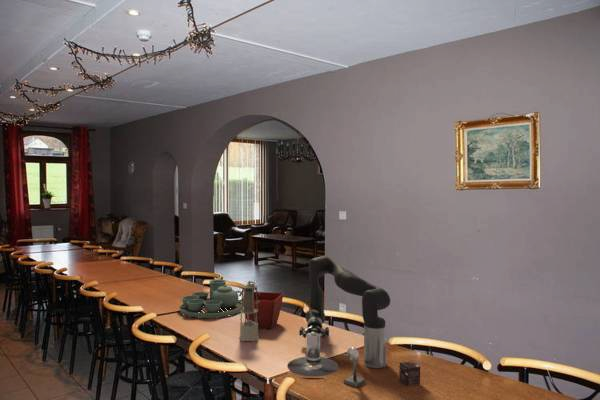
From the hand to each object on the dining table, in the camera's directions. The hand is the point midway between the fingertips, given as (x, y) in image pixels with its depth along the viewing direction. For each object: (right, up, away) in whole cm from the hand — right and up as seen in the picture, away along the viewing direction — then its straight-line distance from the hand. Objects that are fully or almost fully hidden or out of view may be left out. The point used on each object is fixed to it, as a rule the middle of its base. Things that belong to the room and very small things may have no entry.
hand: (314, 336), depth 214 cm
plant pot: (-28, -8, +46) cm, 54 cm away
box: (+37, -10, -31) cm, 49 cm away
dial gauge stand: (+14, -9, -31) cm, 35 cm away
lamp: (-32, -8, +21) cm, 39 cm away
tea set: (-63, -7, +78) cm, 100 cm away
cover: (-1, -7, -10) cm, 13 cm away
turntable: (-1, -9, -18) cm, 20 cm away
